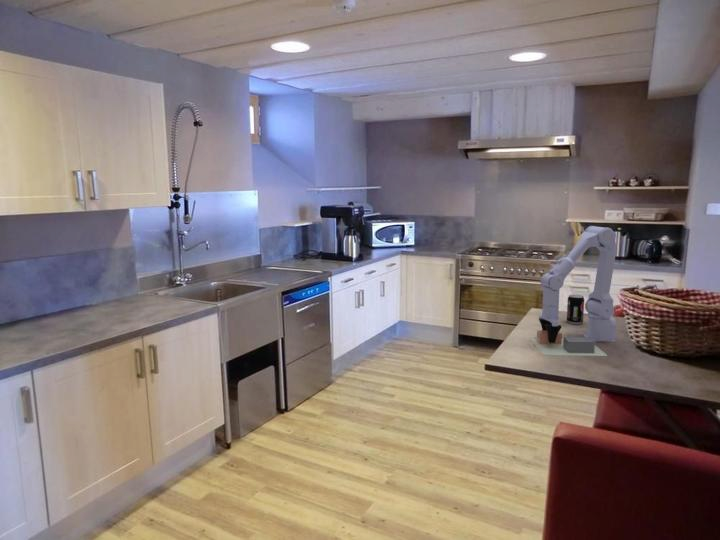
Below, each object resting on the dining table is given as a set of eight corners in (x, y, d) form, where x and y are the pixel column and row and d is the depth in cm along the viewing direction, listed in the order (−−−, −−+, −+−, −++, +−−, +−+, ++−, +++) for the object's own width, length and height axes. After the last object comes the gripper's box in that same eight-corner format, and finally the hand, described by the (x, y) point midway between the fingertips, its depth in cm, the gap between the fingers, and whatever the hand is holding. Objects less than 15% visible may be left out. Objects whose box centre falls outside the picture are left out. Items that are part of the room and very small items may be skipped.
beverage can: (578, 325, 217) (580, 298, 215) (563, 322, 222) (565, 296, 220) (585, 322, 221) (587, 295, 220) (571, 319, 226) (572, 293, 224)
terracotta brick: (558, 340, 196) (558, 330, 195) (561, 344, 192) (561, 333, 191) (536, 340, 197) (537, 330, 196) (539, 343, 192) (540, 333, 192)
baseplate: (587, 339, 198) (587, 338, 197) (607, 356, 178) (607, 355, 178) (529, 339, 200) (529, 338, 200) (543, 355, 180) (543, 354, 180)
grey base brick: (588, 347, 187) (588, 337, 186) (594, 352, 181) (594, 342, 180) (563, 347, 188) (563, 336, 187) (568, 352, 182) (568, 341, 181)
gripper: (535, 300, 199) (533, 333, 201) (544, 309, 185) (543, 345, 187) (553, 300, 198) (551, 334, 201) (564, 309, 184) (562, 345, 186)
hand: (549, 339), depth 194 cm, fingers open, 7 cm apart
